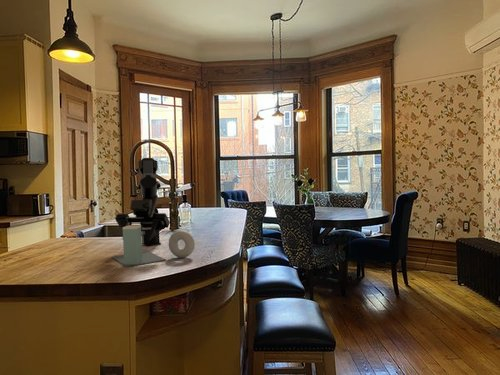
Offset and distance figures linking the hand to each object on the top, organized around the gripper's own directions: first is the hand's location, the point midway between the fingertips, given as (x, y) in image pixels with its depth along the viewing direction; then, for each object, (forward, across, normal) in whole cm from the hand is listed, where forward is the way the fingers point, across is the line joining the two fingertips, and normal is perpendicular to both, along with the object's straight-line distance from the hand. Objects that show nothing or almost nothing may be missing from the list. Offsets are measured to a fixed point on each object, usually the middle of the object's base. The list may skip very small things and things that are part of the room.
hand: (136, 240), depth 130 cm
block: (+8, 0, +2) cm, 8 cm away
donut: (+2, +15, +9) cm, 17 cm away
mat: (+3, -1, +8) cm, 8 cm away
